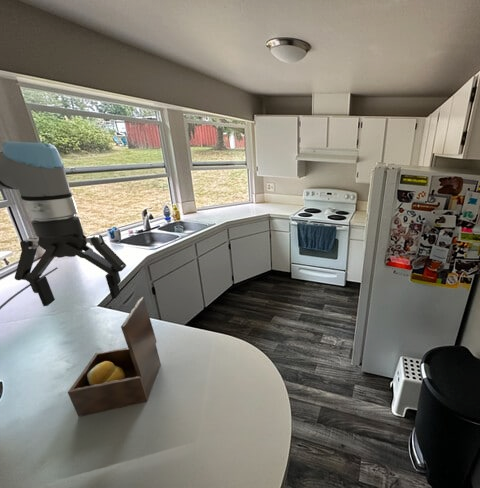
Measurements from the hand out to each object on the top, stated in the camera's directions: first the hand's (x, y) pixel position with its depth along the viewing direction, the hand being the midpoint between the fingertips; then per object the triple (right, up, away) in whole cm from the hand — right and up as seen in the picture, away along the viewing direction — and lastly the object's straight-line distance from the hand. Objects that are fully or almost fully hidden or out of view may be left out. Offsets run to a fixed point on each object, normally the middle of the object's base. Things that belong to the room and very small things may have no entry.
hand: (83, 299), depth 63 cm
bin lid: (+8, -12, +7) cm, 16 cm away
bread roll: (-3, -25, +9) cm, 27 cm away
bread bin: (+1, -29, +11) cm, 31 cm away
